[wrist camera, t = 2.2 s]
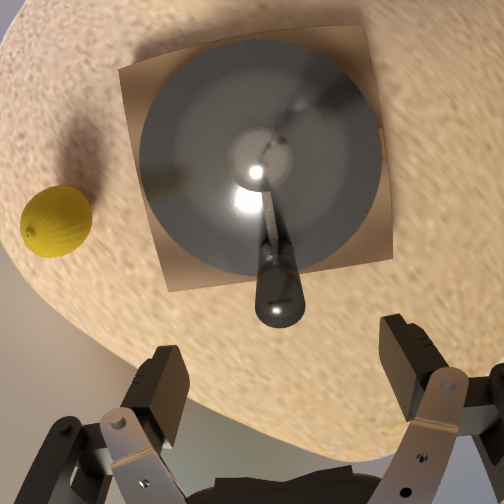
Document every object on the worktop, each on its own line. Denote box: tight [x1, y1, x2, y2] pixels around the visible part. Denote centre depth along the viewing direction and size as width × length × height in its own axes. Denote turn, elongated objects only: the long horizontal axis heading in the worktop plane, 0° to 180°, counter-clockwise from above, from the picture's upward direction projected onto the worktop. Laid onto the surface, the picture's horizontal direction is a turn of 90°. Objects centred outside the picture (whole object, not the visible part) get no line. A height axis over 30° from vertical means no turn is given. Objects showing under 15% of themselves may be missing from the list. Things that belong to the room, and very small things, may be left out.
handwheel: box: [139, 39, 382, 328], centre depth 17 cm, size 16×16×9 cm
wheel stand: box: [118, 25, 393, 292], centre depth 22 cm, size 18×18×3 cm
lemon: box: [20, 186, 92, 258], centre depth 22 cm, size 6×6×8 cm
